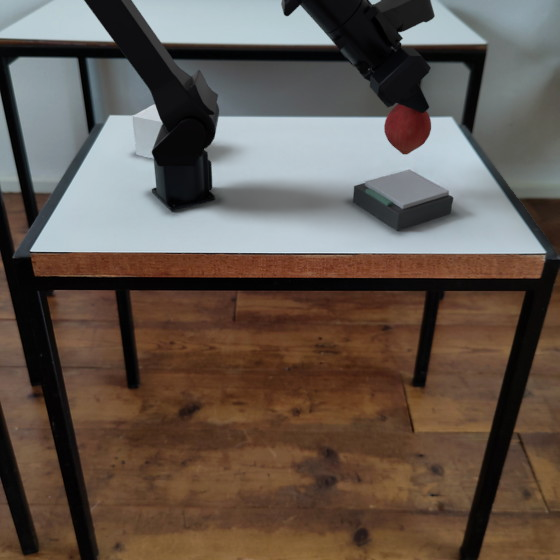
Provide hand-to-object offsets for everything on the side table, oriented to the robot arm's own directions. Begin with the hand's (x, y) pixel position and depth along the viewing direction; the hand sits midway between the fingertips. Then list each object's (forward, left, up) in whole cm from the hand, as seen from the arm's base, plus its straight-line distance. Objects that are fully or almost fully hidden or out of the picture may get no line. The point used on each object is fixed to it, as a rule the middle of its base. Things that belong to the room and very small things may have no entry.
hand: (421, 104), depth 87 cm
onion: (-1, +1, -7) cm, 7 cm away
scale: (-4, -3, -12) cm, 13 cm away
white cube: (-23, +29, -12) cm, 39 cm away
